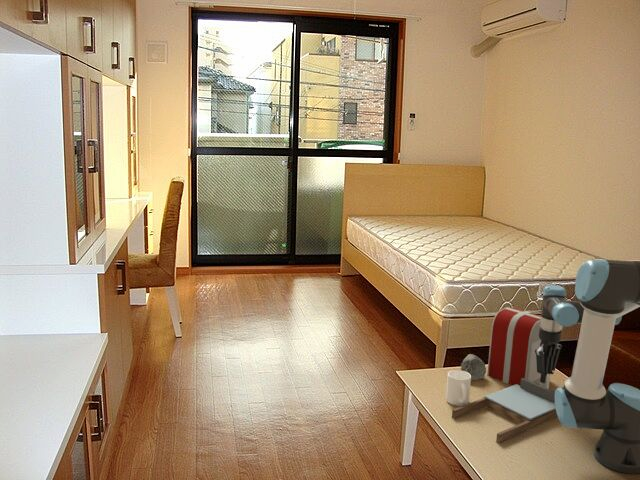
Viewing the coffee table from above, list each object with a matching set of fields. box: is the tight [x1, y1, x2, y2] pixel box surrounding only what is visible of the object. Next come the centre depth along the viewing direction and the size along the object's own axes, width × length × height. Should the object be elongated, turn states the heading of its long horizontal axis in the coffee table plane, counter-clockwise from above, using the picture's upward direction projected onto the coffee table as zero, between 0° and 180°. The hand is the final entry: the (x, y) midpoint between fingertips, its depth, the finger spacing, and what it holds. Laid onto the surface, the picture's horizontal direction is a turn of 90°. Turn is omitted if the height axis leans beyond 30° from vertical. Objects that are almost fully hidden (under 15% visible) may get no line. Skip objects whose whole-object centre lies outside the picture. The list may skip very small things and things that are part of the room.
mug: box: [445, 369, 472, 407], centre depth 226 cm, size 12×8×10 cm
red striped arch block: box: [486, 306, 541, 386], centre depth 247 cm, size 16×18×27 cm
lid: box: [483, 378, 556, 420], centre depth 222 cm, size 19×18×4 cm
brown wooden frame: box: [451, 397, 558, 444], centre depth 218 cm, size 20×34×3 cm, turn 126°
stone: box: [460, 353, 487, 381], centre depth 249 cm, size 10×10×10 cm
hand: (543, 390), depth 228 cm, fingers closed
